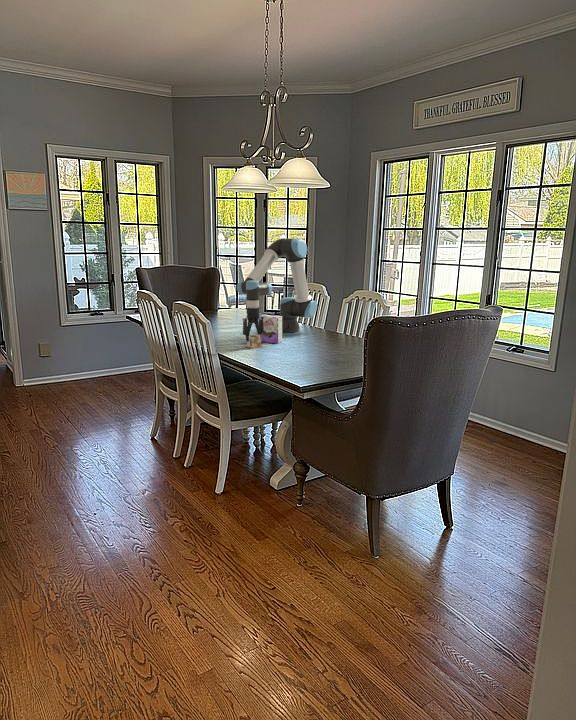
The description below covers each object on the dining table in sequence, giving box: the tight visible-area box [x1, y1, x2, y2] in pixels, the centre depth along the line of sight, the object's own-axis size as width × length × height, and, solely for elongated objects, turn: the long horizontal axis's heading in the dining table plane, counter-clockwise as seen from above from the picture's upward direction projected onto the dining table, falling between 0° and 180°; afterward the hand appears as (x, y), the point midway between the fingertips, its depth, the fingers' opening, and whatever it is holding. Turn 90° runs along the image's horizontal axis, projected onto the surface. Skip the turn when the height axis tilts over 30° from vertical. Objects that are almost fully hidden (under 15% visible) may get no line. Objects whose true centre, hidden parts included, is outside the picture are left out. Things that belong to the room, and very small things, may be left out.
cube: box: [249, 334, 262, 349], centre depth 316 cm, size 6×6×6 cm
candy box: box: [259, 314, 283, 345], centre depth 329 cm, size 14×6×16 cm, turn 62°
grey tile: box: [261, 342, 273, 348], centre depth 321 cm, size 7×7×1 cm
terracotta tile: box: [245, 345, 263, 350], centre depth 316 cm, size 7×7×1 cm
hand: (253, 345), depth 316 cm, fingers closed on cube, 6 cm apart
